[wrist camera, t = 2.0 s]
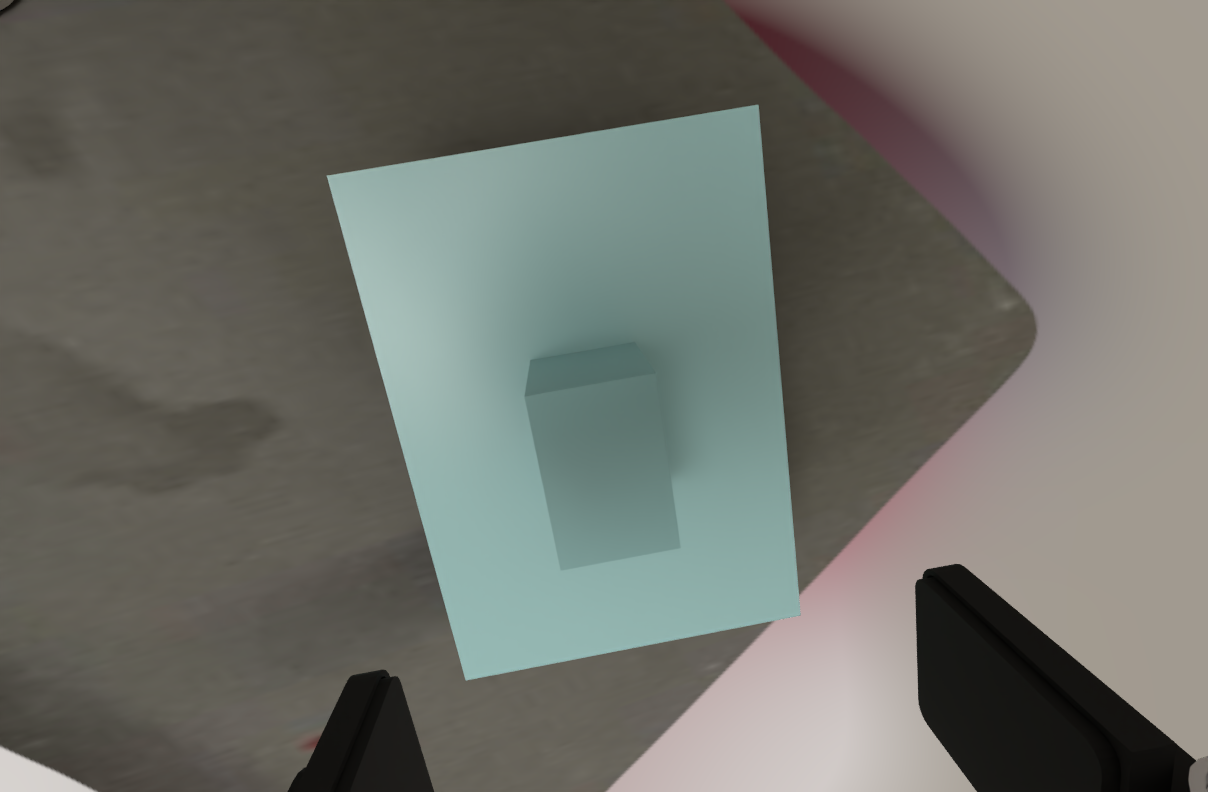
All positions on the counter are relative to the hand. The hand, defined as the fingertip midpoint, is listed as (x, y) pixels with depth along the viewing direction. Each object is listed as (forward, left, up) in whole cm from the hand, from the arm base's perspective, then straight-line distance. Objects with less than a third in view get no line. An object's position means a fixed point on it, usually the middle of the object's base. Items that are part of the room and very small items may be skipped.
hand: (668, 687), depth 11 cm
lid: (0, 0, -15) cm, 15 cm away
